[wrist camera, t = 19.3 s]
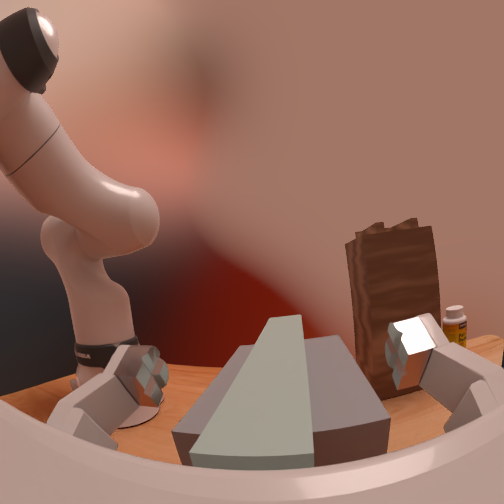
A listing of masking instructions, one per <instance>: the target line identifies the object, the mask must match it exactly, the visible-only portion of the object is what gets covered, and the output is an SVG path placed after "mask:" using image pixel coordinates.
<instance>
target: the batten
mask: <svg viewBox="0 0 504 504" xmlns="http://www.w3.org/2000/svg"><path fill="white" fill-rule="evenodd" d="M189 454H190V457H191V461H192V464H193V467H201V468H211V469H225V470H288V469H301V468H311V467H314V447H313V431H312V418H311V406H310V394H309V383H308V373H307V363H306V354H305V345H304V336H303V328H302V320H301V315H294V316H284V317H276V318H269V320H268V322H267V324H266V326H265V328H264V329H263V331H262V333H261V335H260V336H259V338H258V340H257V342H256V344H255V345H254V347H253V349H252V350H251V352H250V354H249V356H248V357H247V359H246V361H245V363H244V364H243V366H242V368H241V369H240V371H239V373H238V375H237V376H236V378H235V380H234V381H233V383H232V385H231V386H230V388H229V390H228V391H227V393H226V395H225V396H224V398H223V400H222V401H221V403H220V404H219V406H218V408H217V409H216V411H215V413H214V414H213V416H212V417H211V419H210V421H209V422H208V424H207V425H206V427H205V428H204V430H203V432H202V433H201V435H200V436H199V438H198V439H197V441H196V442H195V444H194V445H193V447H192V448H191V450H190V452H189Z"/></svg>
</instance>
